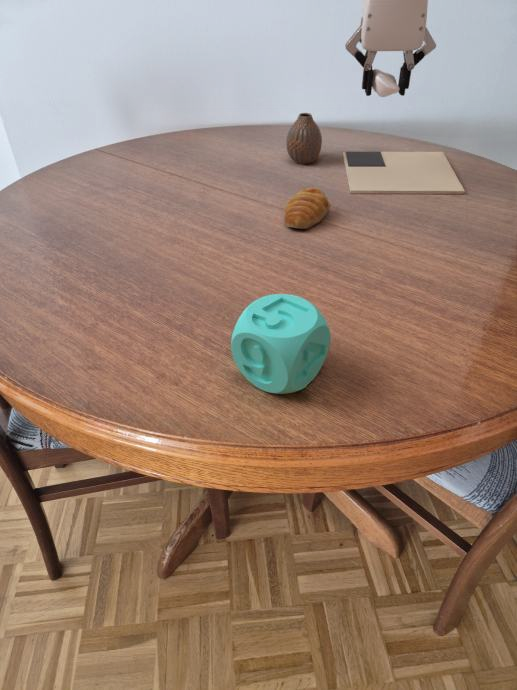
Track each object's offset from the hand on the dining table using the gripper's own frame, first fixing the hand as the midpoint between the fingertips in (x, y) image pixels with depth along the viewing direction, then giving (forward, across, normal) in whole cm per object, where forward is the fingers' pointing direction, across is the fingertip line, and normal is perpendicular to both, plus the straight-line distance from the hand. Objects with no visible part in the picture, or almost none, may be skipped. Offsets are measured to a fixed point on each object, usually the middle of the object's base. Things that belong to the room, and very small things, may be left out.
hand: (384, 92), depth 94 cm
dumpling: (+1, 0, 0) cm, 1 cm away
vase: (+14, +13, -6) cm, 20 cm away
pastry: (+14, +14, +18) cm, 27 cm away
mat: (+14, -5, 0) cm, 15 cm away
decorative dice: (+15, +18, +55) cm, 60 cm away
